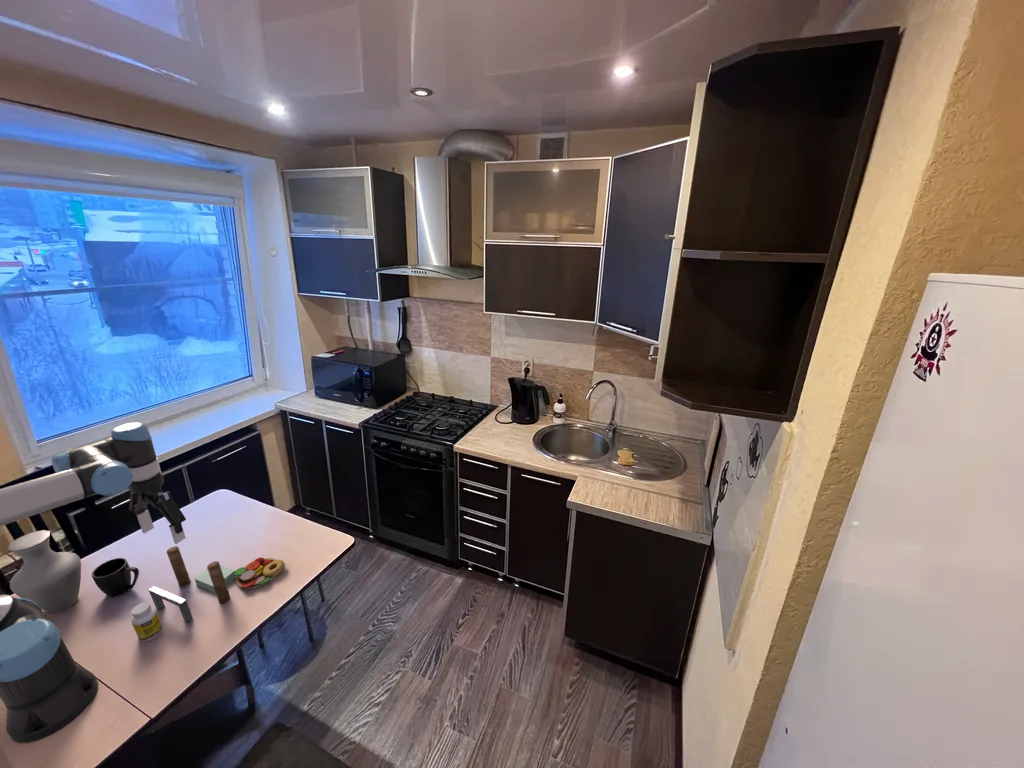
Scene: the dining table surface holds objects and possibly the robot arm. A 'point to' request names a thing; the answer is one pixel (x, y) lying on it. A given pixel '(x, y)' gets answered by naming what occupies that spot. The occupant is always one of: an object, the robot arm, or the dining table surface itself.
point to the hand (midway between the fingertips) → (164, 535)
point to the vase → (46, 573)
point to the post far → (178, 566)
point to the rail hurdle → (160, 594)
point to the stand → (206, 581)
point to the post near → (218, 582)
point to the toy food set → (258, 572)
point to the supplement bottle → (146, 621)
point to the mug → (115, 577)
